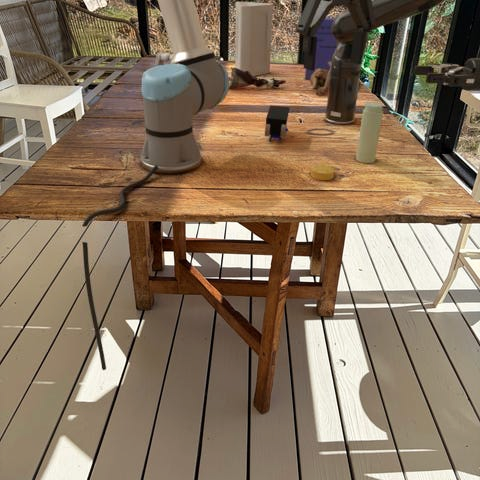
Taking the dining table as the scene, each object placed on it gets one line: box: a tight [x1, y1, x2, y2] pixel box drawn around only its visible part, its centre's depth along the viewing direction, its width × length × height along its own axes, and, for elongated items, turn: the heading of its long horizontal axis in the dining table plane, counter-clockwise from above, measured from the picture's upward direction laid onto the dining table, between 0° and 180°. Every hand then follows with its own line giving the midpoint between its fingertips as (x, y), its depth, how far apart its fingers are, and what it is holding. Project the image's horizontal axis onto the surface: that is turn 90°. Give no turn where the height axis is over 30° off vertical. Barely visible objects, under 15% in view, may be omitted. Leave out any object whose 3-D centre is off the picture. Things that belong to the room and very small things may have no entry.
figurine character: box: [264, 105, 290, 143], centre depth 140 cm, size 7×8×15 cm
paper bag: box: [234, 1, 274, 77], centre depth 210 cm, size 19×15×28 cm
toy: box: [155, 51, 218, 66], centre depth 223 cm, size 24×25×7 cm
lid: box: [310, 164, 335, 181], centre depth 117 cm, size 6×6×2 cm
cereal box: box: [304, 17, 337, 80], centre depth 202 cm, size 17×5×24 cm, turn 86°
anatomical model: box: [309, 61, 331, 96], centre depth 186 cm, size 13×9×15 cm
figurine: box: [229, 66, 287, 89], centre depth 190 cm, size 24×8×30 cm
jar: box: [355, 101, 384, 164], centre depth 123 cm, size 5×5×15 cm
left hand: (333, 66), depth 104 cm, fingers open, 13 cm apart
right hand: (420, 74), depth 116 cm, fingers open, 8 cm apart
